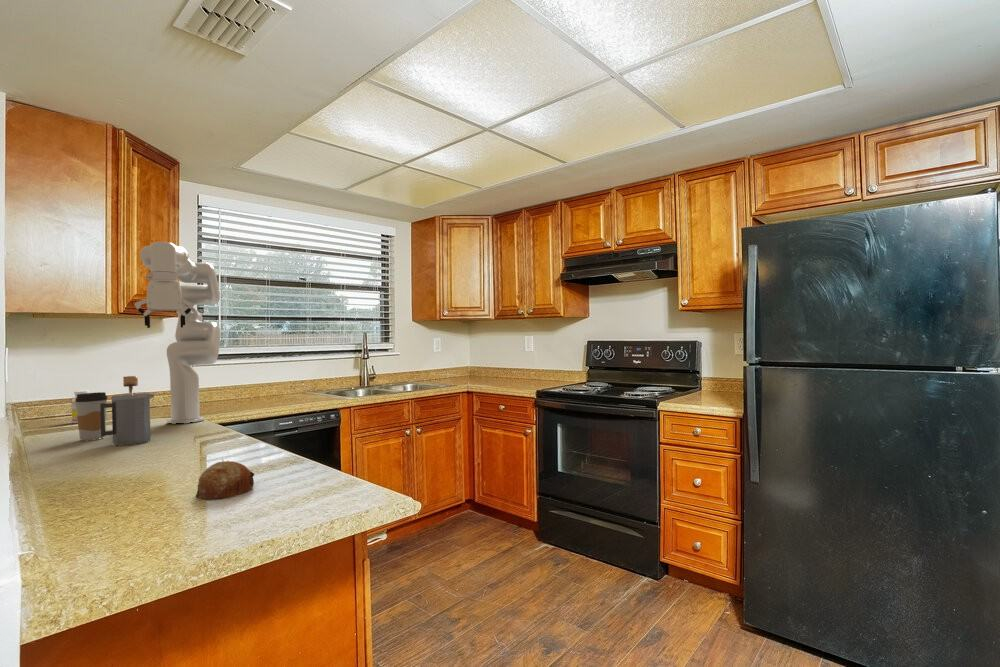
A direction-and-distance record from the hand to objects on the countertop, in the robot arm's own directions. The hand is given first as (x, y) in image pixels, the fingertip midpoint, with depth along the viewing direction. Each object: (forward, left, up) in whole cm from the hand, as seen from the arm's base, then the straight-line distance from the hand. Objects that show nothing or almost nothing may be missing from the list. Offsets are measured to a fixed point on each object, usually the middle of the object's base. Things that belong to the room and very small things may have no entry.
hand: (165, 327), depth 176 cm
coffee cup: (-3, -21, -36) cm, 42 cm away
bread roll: (+95, +12, -37) cm, 102 cm away
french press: (+15, -9, -36) cm, 40 cm away
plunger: (+15, -9, -35) cm, 39 cm away
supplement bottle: (-57, -31, -36) cm, 74 cm away
